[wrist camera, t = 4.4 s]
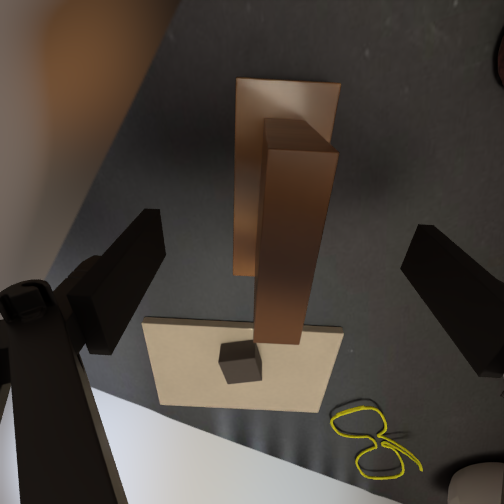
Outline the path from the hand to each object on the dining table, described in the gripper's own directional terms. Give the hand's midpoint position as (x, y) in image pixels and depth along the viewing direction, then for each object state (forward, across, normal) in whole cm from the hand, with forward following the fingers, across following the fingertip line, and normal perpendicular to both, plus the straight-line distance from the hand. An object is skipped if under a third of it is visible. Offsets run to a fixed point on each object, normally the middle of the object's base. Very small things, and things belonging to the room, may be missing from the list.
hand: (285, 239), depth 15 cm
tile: (+9, -2, -24) cm, 26 cm away
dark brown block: (+8, -2, -20) cm, 22 cm away
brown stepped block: (+9, 0, 0) cm, 9 cm away
